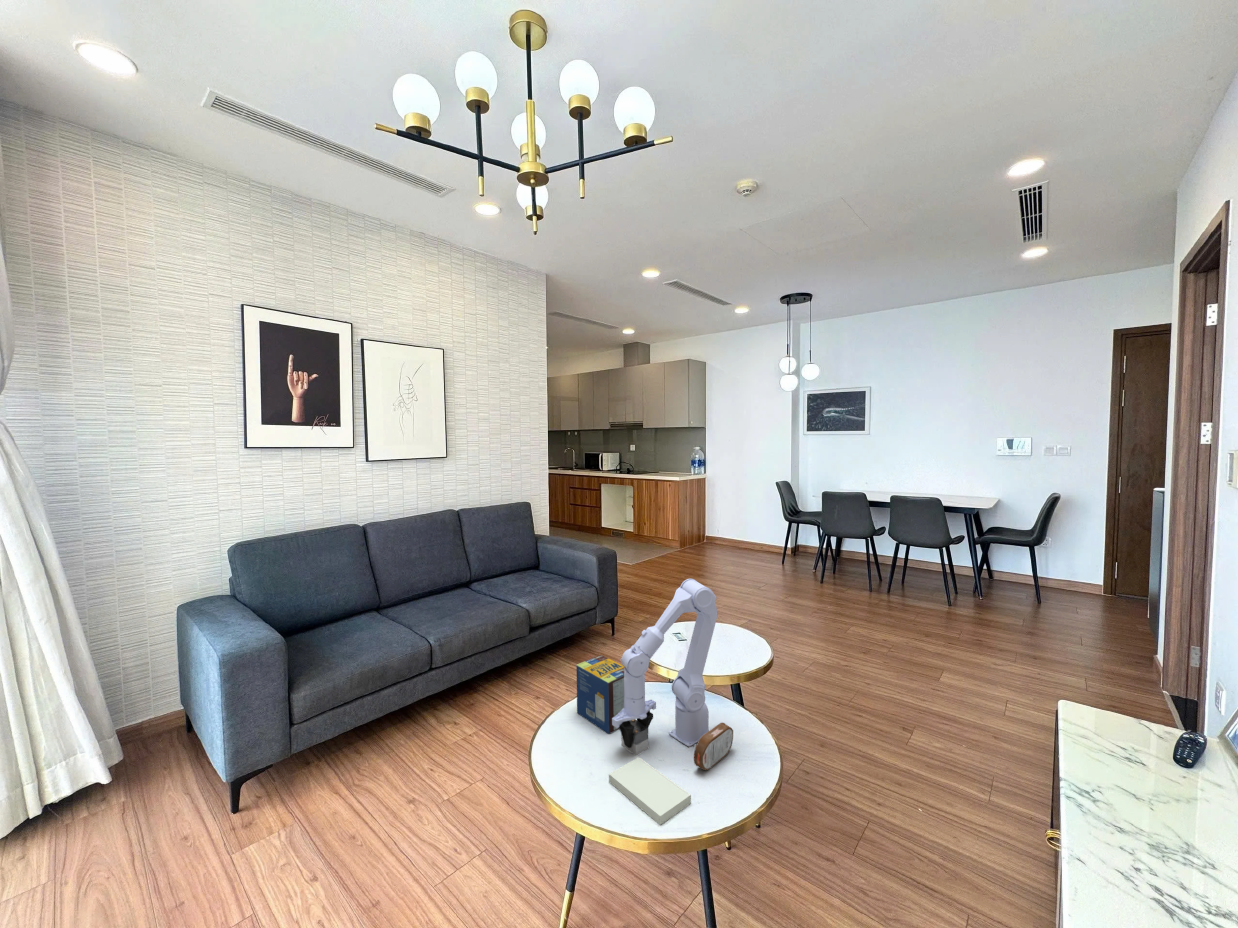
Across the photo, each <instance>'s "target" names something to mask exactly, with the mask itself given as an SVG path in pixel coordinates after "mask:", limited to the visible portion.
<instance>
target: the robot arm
mask: <svg viewBox="0 0 1238 928" xmlns="http://www.w3.org/2000/svg"><path fill="white" fill-rule="evenodd" d="M717 598H718V597H717V596H716V594H715V593H714V591H713V590H712V589H711V588H710V587H708V586H705V585H703V584H702V583H700V582H698V581H697V580H696V579H694V578H687V579H685V580H683V581H682V582H681V584H680V587H678V588H676V590H675V593H674V596H673V598H672V600H671V601H670V603H668V606H667V607H666V608H665V609H664V611H663V613H662V614H661V616H660V617H659V619H657V621H656V623H655V625H653V626H647V628H646V629H643V630H642V631H641V632H640V633H641V635H640V636H639V638H638V639H637V640H636V641H635V643H634V644H633V645H631V646H630V647H629V648H628V649H626V650H625V651H624V652H623V654H622V657H621V658H620V664H621V665H623V666H624V667H625V668H624V708H623V709H622V710H621V711H620V712H619V713H618V714H617V715H616V716H615V717H613V718H612V725H613V726H614V727H616V728H618V727H619V729H618V730H619V731H620V734H622V737H623V740H624V745H625V746H627V747H628V748H631V745H632V734H633V730H634V726H633V725H631V722H629V720H633V719H636V720H637V721H639V722H640V723H642V724H643V725H645V726H646V727H648V728H649V726H650V724H651V723H652V721H653V719H654V714H653V713H652V712H651V710H653V711H654V710H656V709H657V701H656V700H654V699H651V698H650V699H649V700H646V677H645V676H646V675H645V674H646V672H647V671H648V670H649V666H650V661H651V659H652V657H654V655H655V654H656V653H657V652H658V650H659V648H661V646H662V645H663V644H664V642H665V634H666V632H668V630H669V629H670V628H671V627H672V626H673V625H674V624H675V622H676V621H677V620H678V619H679V618H680V617H681V616H682V615H683V614H684V613H685V614H686V613H695V614H696V617H695V618H696V619H695V623H694V627H693V631H692V635H691V639H690V642H689V647H688V650H687V654H686V659H685V662H684V667H683V668H682V669H680V670H678V672H677V674H676V677H675V678H674V680H673V682H672V683H671V691H672V694H674V696H675V701H674V702H675V706H674V707H675V711H674V712H675V714H674V715H675V718H674V719H675V722H674V723H675V728H674V729H673V730H671V731H669V732H668V735H669V736H671V737H672V738H674V739H676V740H677V741H679V742H680V743H682V744H683V745H685V746H687V747H689V748H690V747H692V746H693V745H695V744H697V743H698V741H699V740H700V738H701V737H702V736H703V735H704V734H706V733H707V732H708V731H710V730H709V729H710V728H709V721H710V720H709V718H710V716H709V708H708V705H707V704H706V694H705V691H706V683H705V679H704V676H703V675H704V671H705V666H706V663H707V660H708V659H707V658H708V654H709V650H710V648H711V647H710V646H711V642H712V639H713V635H714V631H715V626H716V623H717V618H718V608H717V601H716V600H717Z"/></svg>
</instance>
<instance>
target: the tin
mask: <svg viewBox="0 0 1238 928" xmlns="http://www.w3.org/2000/svg"><path fill="white" fill-rule="evenodd" d="M733 740H734V729H733V728H732V727H731V726H729V725H728V724H726V723H725V722H720V723H719V724H717V725H715V726H714V727H713V728H711V729H710V730H709V731H708V732H707V733H706V734H704V735H703V736H702V737H701V738H700V740H699V741H698V742H697V743H696V746H695V749H694V752H693V763H694V765H695V766H696V767H698V768H699V769H701V770H703V771H708V770H710V769H711V768H713V767H714V766H715V765H717V764H718V763H719V762H721V760H723V759H724V758H725V757H726V756H727V755H728V754H729V752H730V750H731V748H732V745H733Z"/></svg>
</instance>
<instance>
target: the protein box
mask: <svg viewBox="0 0 1238 928" xmlns="http://www.w3.org/2000/svg"><path fill="white" fill-rule="evenodd" d="M624 668H625V667H624V666H623V665H622V663H620V662H617V661H614V659H613V660H612V659H610V658H608V657H606V656H605V655H602V654H600V655H597V656H594V657H593V658H590V659H587V660H585V661H582V662H580V663H577V664H576V712H577V713H576V714H578V715H579V716H580V717H583V718H584V719H586V720H587V721H588V722H590V723H591V724H593V725H594V726H596V727H597V728H599V729H600V730H602V731H603V732H605V733H606V734H608V735H611V733H613V732H616V731H618V730H620V729H619V727H618V728H616V727H614V726H613V725H612V718H613V717H615V716H616V715H617V714H618V713H619V712H620V711H621V710H622V709H623V708H624Z"/></svg>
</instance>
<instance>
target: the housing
mask: <svg viewBox="0 0 1238 928" xmlns="http://www.w3.org/2000/svg"><path fill="white" fill-rule="evenodd" d="M629 722H631V725H633V726H634V730H633V734H632V745H631V748H628V747H627V746H625V745H624V740H623V737H622V734H621V733H620V734H621V735H620V736H621V747H623V748H625V749H626V750H627V751H629V752H630V753H631V754H632V755H634V756H635V757H637V756H639V755H640V754H642V753H644V752H646V751H648V750H649V727H646V726H645V725H643V724H642V723H640V722H639V721H637V719H633V720H629Z"/></svg>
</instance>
